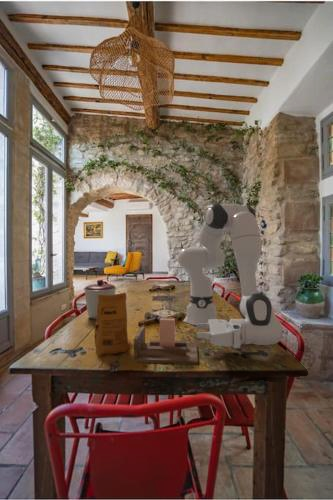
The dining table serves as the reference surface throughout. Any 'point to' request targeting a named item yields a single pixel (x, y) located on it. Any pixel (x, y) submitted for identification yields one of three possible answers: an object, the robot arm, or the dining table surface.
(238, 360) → the dining table surface
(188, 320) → the robot arm
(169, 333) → the tile
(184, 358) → the rack
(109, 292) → the canister
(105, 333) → the coffee package
